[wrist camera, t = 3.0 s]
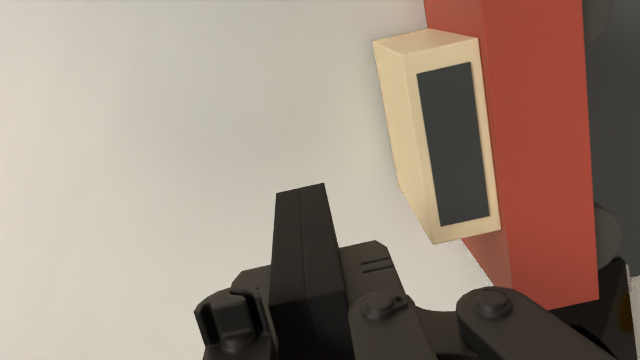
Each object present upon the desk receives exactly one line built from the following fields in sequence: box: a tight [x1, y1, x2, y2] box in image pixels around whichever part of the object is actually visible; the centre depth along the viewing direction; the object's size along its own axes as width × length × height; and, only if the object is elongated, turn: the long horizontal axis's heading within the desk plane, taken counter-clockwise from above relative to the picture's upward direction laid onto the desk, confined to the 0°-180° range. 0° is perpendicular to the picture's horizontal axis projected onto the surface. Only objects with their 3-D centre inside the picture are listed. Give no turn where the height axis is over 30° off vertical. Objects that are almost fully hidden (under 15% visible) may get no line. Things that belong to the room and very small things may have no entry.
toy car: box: [373, 0, 622, 310], centre depth 22 cm, size 13×7×8 cm, turn 12°
